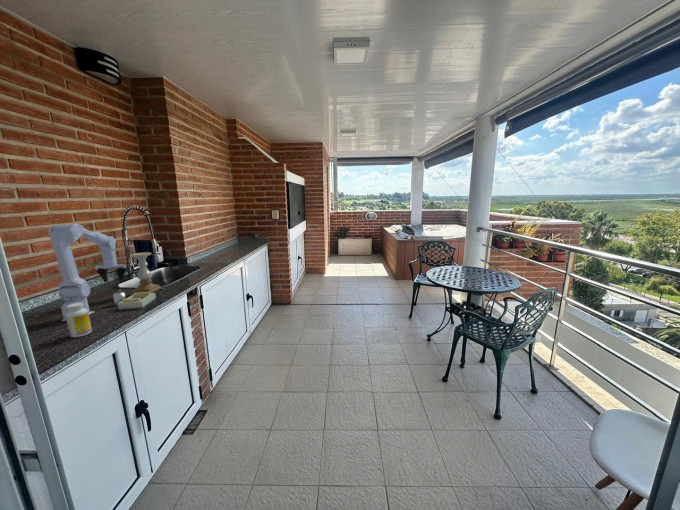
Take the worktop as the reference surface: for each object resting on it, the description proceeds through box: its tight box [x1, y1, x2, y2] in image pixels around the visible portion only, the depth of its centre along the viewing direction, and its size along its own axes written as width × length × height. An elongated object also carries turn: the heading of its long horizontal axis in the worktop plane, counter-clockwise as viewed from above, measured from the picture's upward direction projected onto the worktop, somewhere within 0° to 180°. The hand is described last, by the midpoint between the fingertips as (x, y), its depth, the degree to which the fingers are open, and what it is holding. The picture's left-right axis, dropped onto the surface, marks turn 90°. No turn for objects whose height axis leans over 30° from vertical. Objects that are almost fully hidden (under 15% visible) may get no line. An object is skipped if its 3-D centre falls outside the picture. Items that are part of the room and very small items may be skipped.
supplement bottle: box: [66, 303, 93, 338], centre depth 111 cm, size 7×7×13 cm
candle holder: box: [130, 251, 162, 296], centre depth 163 cm, size 11×11×24 cm
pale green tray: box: [117, 292, 157, 311], centre depth 145 cm, size 14×11×5 cm
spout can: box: [112, 289, 127, 307], centre depth 146 cm, size 5×5×8 cm
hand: (113, 281), depth 155 cm, fingers open, 7 cm apart
